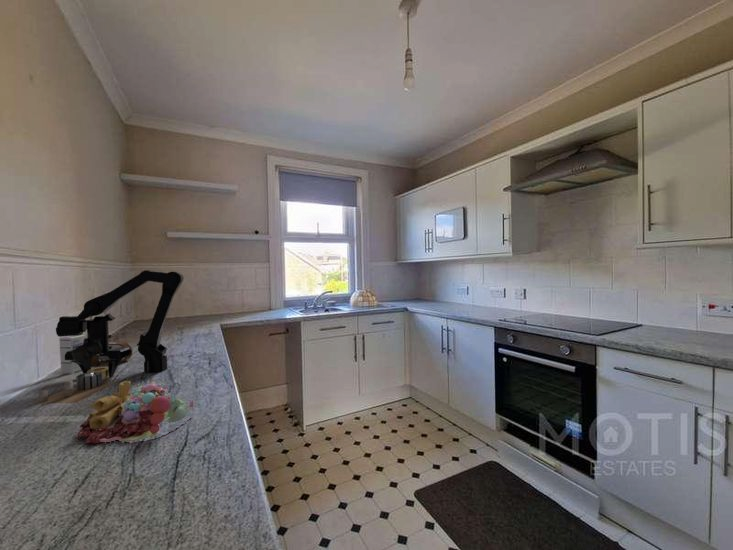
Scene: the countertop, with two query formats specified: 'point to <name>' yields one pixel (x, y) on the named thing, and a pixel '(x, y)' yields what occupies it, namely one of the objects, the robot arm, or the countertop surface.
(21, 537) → the countertop surface
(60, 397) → the board
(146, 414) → the candy landscape model
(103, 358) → the tin
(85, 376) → the gear
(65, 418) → the countertop surface
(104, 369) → the brass gear
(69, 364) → the syrup box
